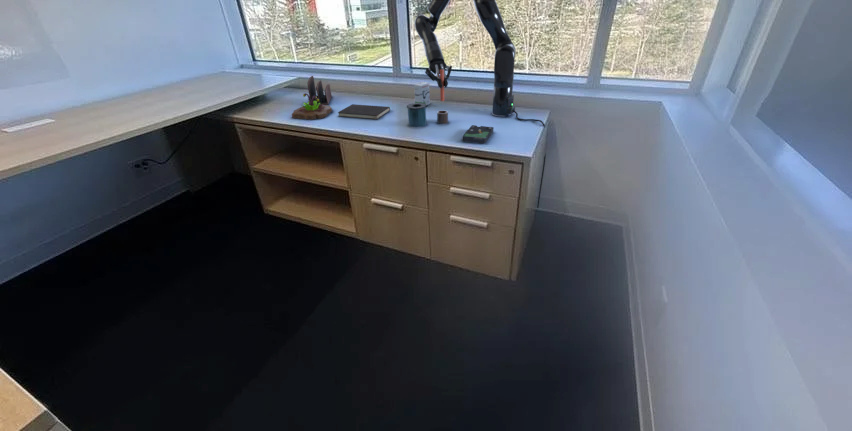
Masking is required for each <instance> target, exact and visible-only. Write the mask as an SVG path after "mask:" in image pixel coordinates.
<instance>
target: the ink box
mask: <svg viewBox="0 0 852 431" xmlns="http://www.w3.org/2000/svg"><path fill="white" fill-rule="evenodd" d="M413 85H414V86H413V88H414V89H413V90H414V91H413V92H414V103H424V104H426V106H428V105H431V98H430V97H431V95H430V93H431V92H430V82H426V81H421V82H418V83H415V84H413Z"/></svg>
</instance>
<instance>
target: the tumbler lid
mask: <svg viewBox="0 0 852 431" xmlns="http://www.w3.org/2000/svg"><path fill="white" fill-rule="evenodd" d="M415 105H420V106H419V107H413V106H415ZM425 107H426V108H427V105H426V104H424V103H415V102H413V103H408V104H406V108H407V109H408V108H409V109H423V108H425Z"/></svg>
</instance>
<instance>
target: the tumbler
mask: <svg viewBox="0 0 852 431" xmlns="http://www.w3.org/2000/svg"><path fill="white" fill-rule="evenodd" d="M419 106H420V105H415V106H413V107H419ZM407 118H408V119H407V120H408V126H409V127H411V128H422V127H425V126H426V125H427V106H426V107H425V108H423V109H409V108H407Z"/></svg>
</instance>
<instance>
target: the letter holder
mask: <svg viewBox="0 0 852 431" xmlns="http://www.w3.org/2000/svg"><path fill="white" fill-rule="evenodd" d="M307 91H308V95H309V96H310V99H311V100H312V97H313V96H316V97H317V98H318V99H319V101H317V99H314V100H313V101H317V104H318V103H320V105H325V106H329V104H330V101H331V100H332V96H333V95H332V91H331V86H330V83H327V84H326V85H325V89H324V88H323V82H322V80H321V79H319V81H318V82H317V84H316V83H315V77H314V75H310V77H309V79H308V81H307ZM317 104H316V105H317Z"/></svg>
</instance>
